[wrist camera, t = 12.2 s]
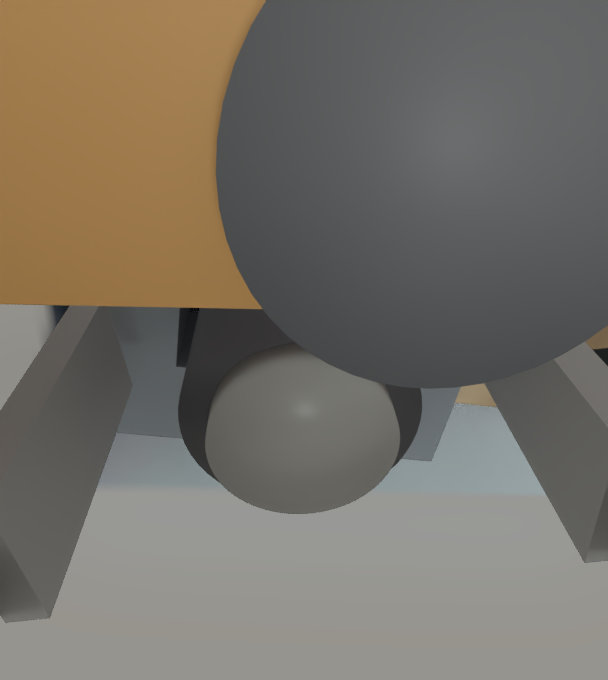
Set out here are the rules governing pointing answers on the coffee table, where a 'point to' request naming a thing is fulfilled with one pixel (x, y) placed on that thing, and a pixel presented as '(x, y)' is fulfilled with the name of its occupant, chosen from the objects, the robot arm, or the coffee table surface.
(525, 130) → the wooden handle
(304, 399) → the plug
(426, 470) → the coffee table surface
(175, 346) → the socket
